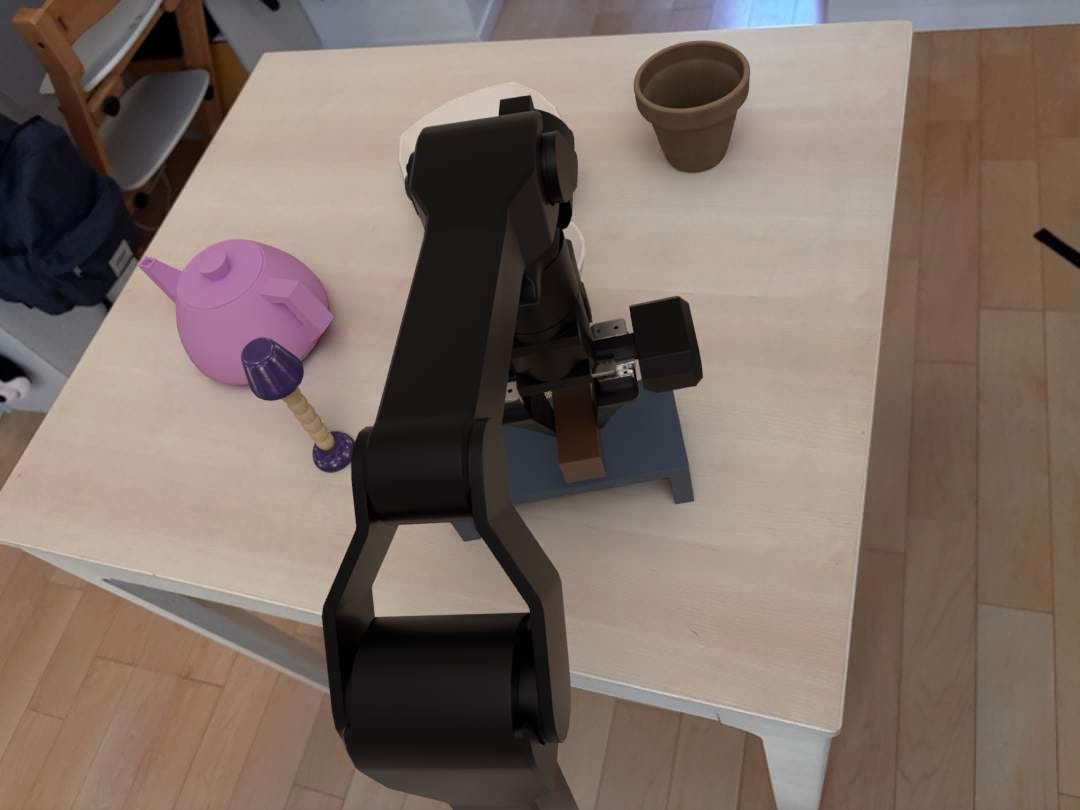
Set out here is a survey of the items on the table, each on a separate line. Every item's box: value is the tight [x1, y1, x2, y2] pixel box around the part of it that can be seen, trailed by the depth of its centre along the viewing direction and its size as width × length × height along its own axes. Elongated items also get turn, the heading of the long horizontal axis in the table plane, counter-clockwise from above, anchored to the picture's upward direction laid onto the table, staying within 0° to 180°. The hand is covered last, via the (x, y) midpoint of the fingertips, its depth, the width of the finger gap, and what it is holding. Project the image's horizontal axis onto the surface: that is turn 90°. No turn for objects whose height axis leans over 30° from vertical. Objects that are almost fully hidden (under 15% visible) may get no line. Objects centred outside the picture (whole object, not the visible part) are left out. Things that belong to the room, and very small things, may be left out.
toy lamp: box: [241, 337, 355, 473], centre depth 76 cm, size 5×5×17 cm
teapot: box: [137, 238, 335, 386], centre depth 89 cm, size 22×16×12 cm
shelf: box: [449, 379, 695, 542], centre depth 73 cm, size 9×20×6 cm, turn 95°
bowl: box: [397, 81, 565, 186], centre depth 92 cm, size 18×18×9 cm
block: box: [550, 384, 607, 483], centre depth 64 cm, size 8×3×3 cm, turn 4°
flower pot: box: [633, 40, 751, 173], centre depth 90 cm, size 12×11×10 cm
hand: (578, 427), depth 65 cm, fingers closed on block, 3 cm apart
